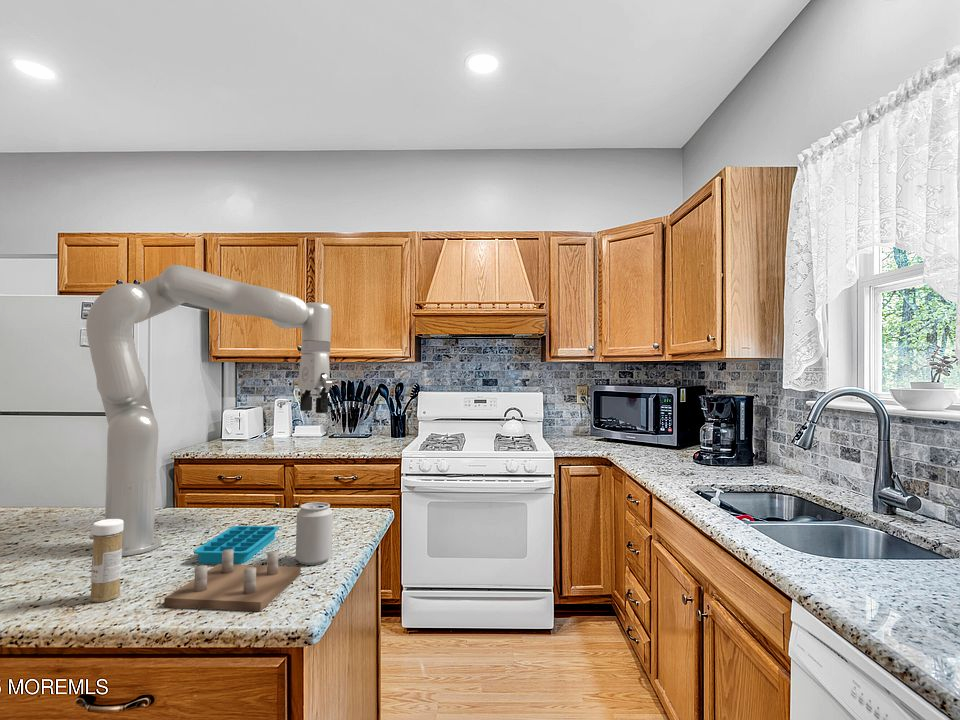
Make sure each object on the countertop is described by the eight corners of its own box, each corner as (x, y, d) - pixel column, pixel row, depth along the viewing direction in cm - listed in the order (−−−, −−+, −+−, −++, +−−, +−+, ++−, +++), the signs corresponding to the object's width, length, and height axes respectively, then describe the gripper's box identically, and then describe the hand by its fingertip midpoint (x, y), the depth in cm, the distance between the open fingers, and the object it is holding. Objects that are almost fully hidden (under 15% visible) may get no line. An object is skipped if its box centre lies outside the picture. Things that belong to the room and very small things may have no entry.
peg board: (164, 606, 92) (165, 574, 92) (218, 571, 109) (219, 543, 109) (260, 611, 91) (261, 578, 91) (300, 574, 108) (301, 546, 108)
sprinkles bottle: (86, 598, 95) (89, 521, 96) (116, 590, 99) (119, 516, 99) (94, 605, 92) (97, 526, 93) (124, 597, 96) (127, 521, 96)
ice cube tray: (190, 566, 113) (190, 552, 113) (233, 537, 133) (233, 525, 133) (246, 567, 113) (246, 552, 113) (280, 538, 133) (281, 526, 133)
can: (338, 557, 119) (340, 502, 119) (317, 568, 112) (319, 510, 112) (309, 553, 121) (311, 499, 122) (287, 563, 114) (289, 506, 115)
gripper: (289, 348, 150) (287, 410, 150) (316, 346, 137) (314, 414, 137) (315, 350, 155) (313, 409, 155) (343, 348, 142) (341, 413, 142)
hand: (313, 411), depth 146 cm, fingers open, 9 cm apart
